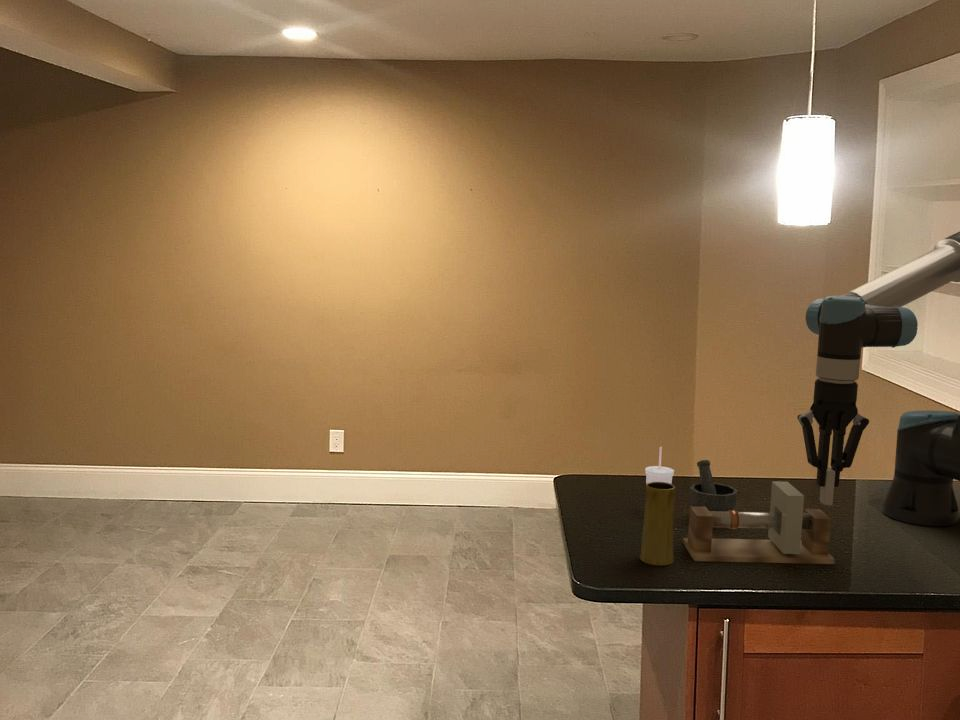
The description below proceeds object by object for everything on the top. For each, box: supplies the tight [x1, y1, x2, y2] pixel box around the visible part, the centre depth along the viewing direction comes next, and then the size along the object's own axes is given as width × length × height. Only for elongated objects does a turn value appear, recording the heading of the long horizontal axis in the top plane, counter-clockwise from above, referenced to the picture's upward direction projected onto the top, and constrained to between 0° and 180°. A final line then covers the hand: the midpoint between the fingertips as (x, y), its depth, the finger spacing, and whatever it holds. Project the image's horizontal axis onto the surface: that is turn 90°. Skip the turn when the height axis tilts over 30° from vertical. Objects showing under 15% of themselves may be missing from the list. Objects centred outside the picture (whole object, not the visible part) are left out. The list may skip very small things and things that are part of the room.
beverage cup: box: [644, 446, 675, 486], centre depth 211 cm, size 6×6×14 cm
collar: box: [767, 481, 805, 554], centre depth 185 cm, size 3×10×11 cm, turn 1°
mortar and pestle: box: [689, 459, 739, 511], centre depth 205 cm, size 11×9×12 cm
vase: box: [639, 482, 676, 567], centre depth 180 cm, size 6×6×14 cm
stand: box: [682, 505, 836, 565], centre depth 186 cm, size 26×10×8 cm, turn 91°
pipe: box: [709, 509, 812, 530], centre depth 185 cm, size 23×4×4 cm, turn 91°
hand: (825, 502), depth 185 cm, fingers closed
